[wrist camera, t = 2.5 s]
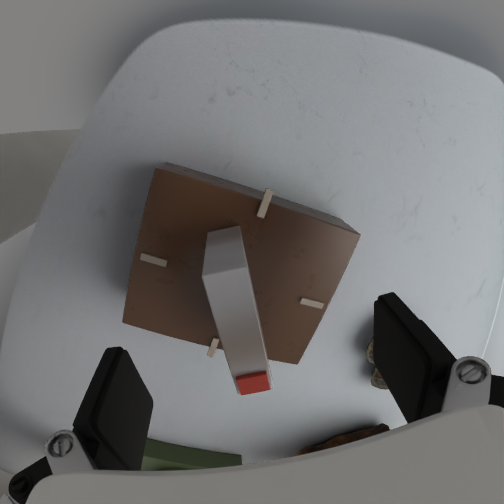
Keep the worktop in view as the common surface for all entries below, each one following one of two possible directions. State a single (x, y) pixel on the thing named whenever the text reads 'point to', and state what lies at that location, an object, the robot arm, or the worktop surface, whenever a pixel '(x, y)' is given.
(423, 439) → the robot arm
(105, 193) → the worktop surface
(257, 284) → the block
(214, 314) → the tap handle
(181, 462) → the button box
